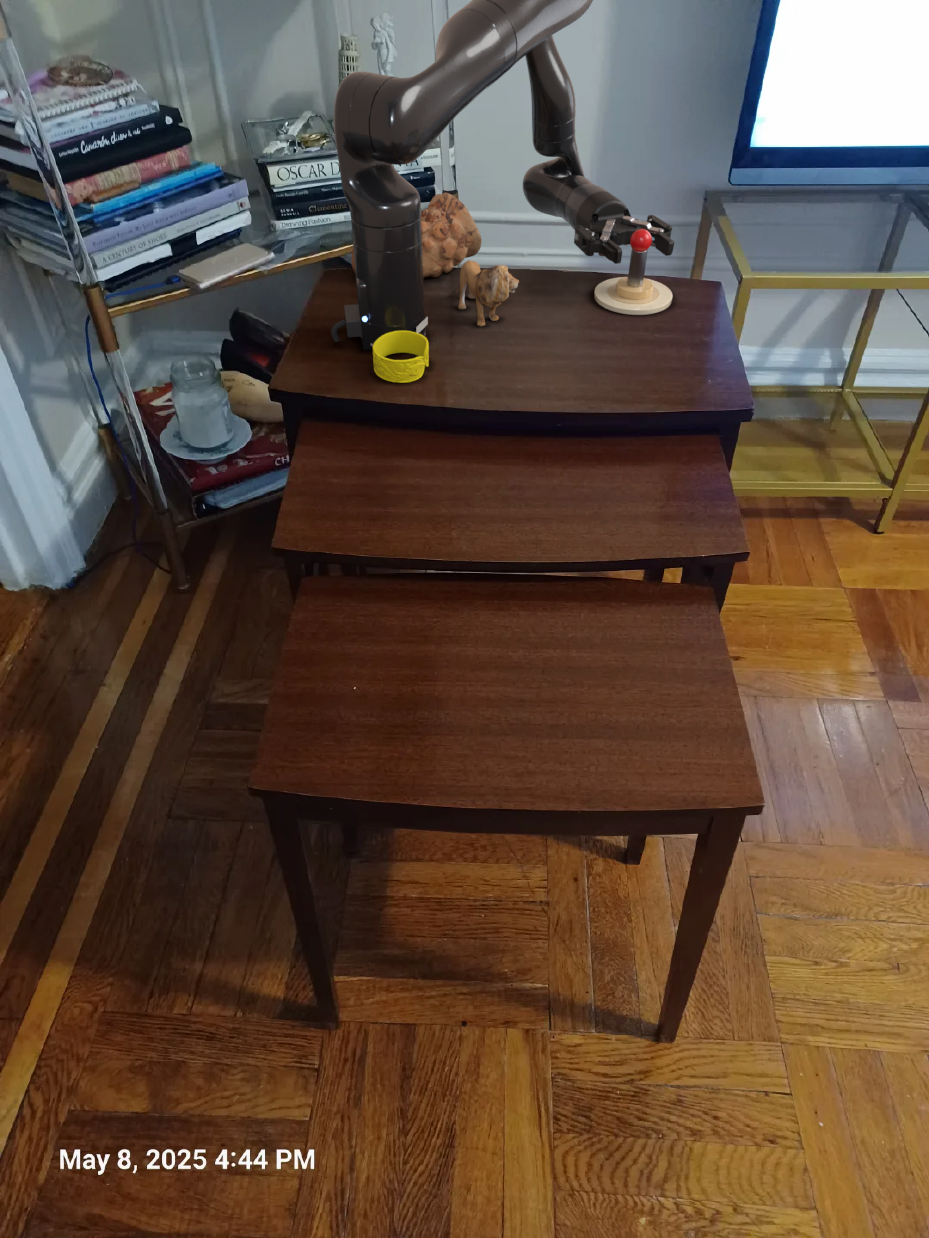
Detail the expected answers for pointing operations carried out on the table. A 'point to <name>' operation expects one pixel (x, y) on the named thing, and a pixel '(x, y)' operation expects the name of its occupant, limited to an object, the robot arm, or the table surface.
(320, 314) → the table surface
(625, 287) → the red ball post
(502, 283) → the lion figurine
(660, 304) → the plate
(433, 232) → the brown bumpy lump
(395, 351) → the bracelet
